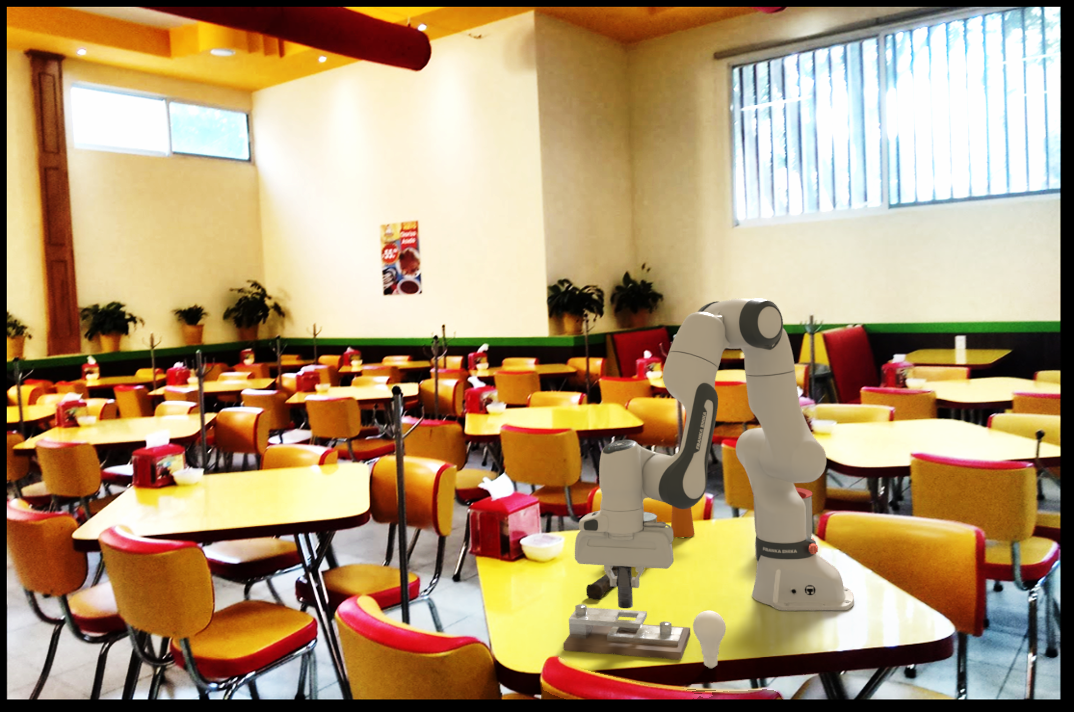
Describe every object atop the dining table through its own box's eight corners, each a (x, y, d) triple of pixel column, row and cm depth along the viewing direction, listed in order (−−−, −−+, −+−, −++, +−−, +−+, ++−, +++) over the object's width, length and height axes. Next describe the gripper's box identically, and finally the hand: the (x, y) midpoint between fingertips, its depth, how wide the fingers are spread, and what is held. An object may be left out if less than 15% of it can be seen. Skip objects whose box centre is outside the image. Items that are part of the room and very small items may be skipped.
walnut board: (690, 634, 181) (690, 627, 181) (681, 659, 169) (680, 652, 169) (580, 626, 189) (579, 619, 188) (563, 650, 176) (563, 643, 176)
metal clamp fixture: (683, 632, 178) (682, 606, 178) (678, 645, 172) (677, 618, 172) (578, 625, 185) (577, 600, 185) (569, 637, 179) (568, 611, 178)
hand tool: (600, 601, 204) (600, 582, 204) (586, 599, 206) (585, 580, 206) (634, 578, 220) (634, 560, 220) (620, 576, 222) (619, 558, 222)
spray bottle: (694, 541, 249) (691, 451, 247) (665, 535, 257) (662, 448, 255) (709, 536, 254) (706, 448, 252) (680, 530, 262) (677, 444, 260)
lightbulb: (722, 660, 168) (720, 604, 167) (730, 673, 162) (728, 616, 161) (691, 662, 168) (689, 606, 167) (698, 675, 161) (696, 618, 161)
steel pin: (634, 603, 179) (632, 563, 179) (631, 608, 176) (629, 568, 176) (619, 602, 180) (618, 562, 179) (616, 607, 177) (615, 567, 177)
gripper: (675, 518, 177) (677, 584, 178) (579, 514, 183) (581, 578, 184) (670, 526, 171) (672, 594, 172) (571, 522, 177) (573, 588, 178)
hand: (624, 586), depth 178 cm, fingers closed on steel pin, 3 cm apart
